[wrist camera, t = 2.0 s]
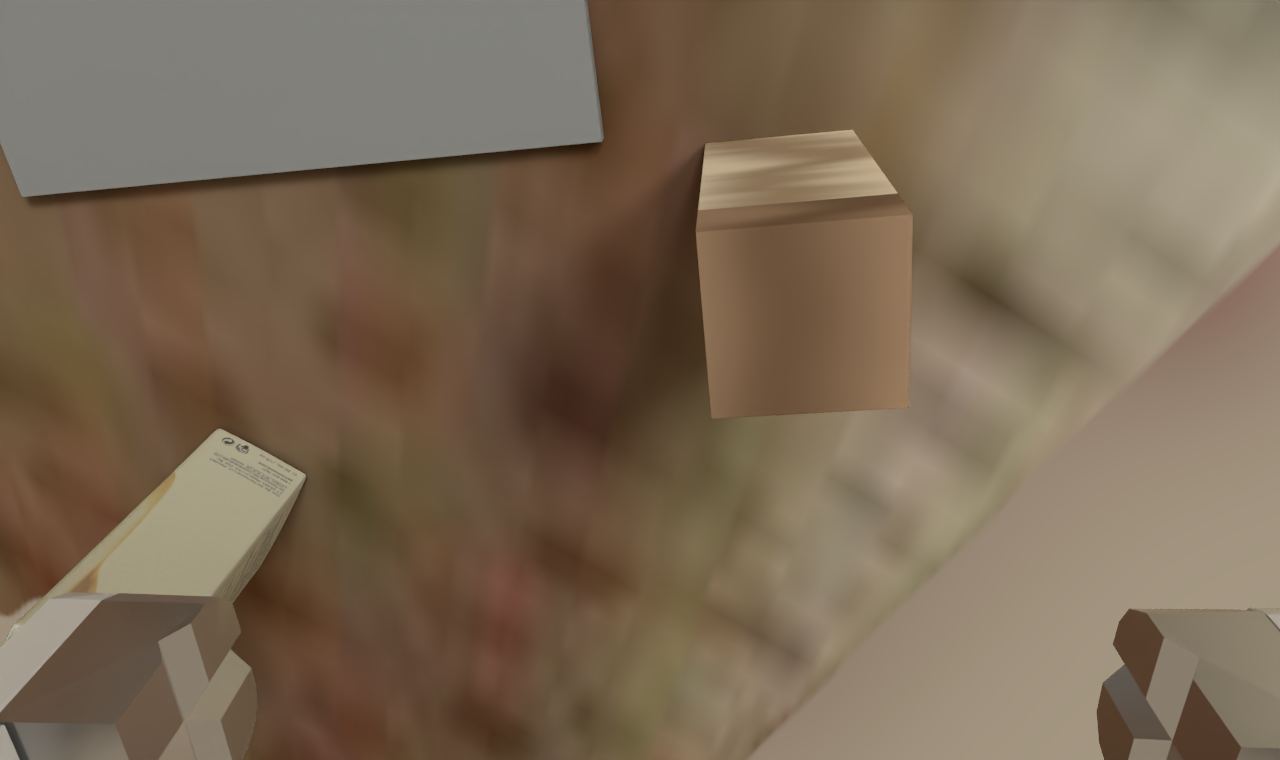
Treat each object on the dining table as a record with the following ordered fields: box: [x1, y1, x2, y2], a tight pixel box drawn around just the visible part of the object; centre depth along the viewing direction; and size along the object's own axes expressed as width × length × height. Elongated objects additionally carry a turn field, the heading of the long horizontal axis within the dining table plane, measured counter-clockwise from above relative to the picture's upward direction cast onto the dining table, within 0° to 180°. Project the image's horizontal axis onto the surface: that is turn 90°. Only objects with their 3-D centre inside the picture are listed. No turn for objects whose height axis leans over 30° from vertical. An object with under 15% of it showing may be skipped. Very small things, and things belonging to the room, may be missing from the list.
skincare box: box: [4, 429, 306, 644], centre depth 34 cm, size 6×4×12 cm
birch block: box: [696, 130, 913, 419], centre depth 27 cm, size 5×5×11 cm
